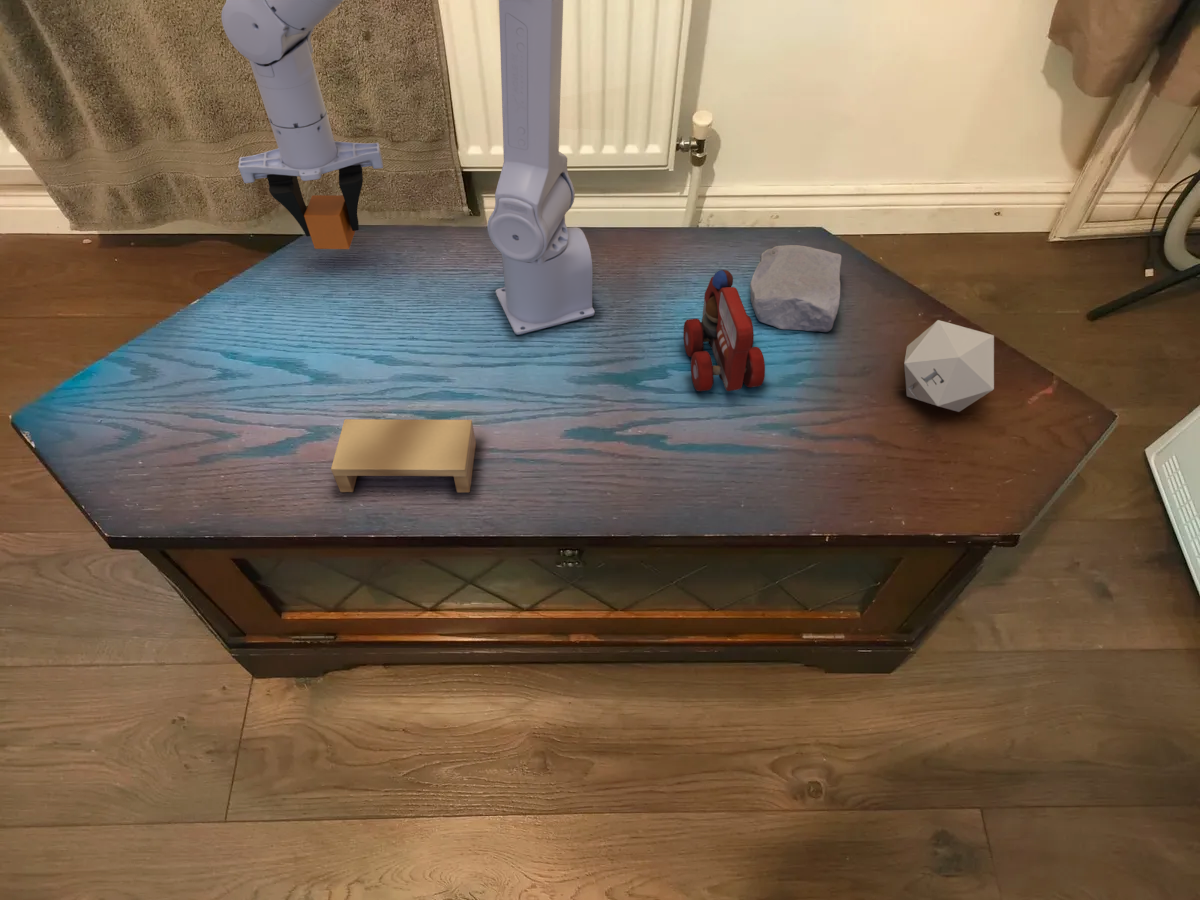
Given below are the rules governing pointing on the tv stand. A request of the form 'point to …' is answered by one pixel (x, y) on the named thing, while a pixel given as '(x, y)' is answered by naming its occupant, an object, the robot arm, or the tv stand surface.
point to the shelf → (404, 450)
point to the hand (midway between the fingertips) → (332, 228)
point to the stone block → (797, 288)
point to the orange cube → (329, 222)
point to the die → (950, 366)
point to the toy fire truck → (723, 339)
